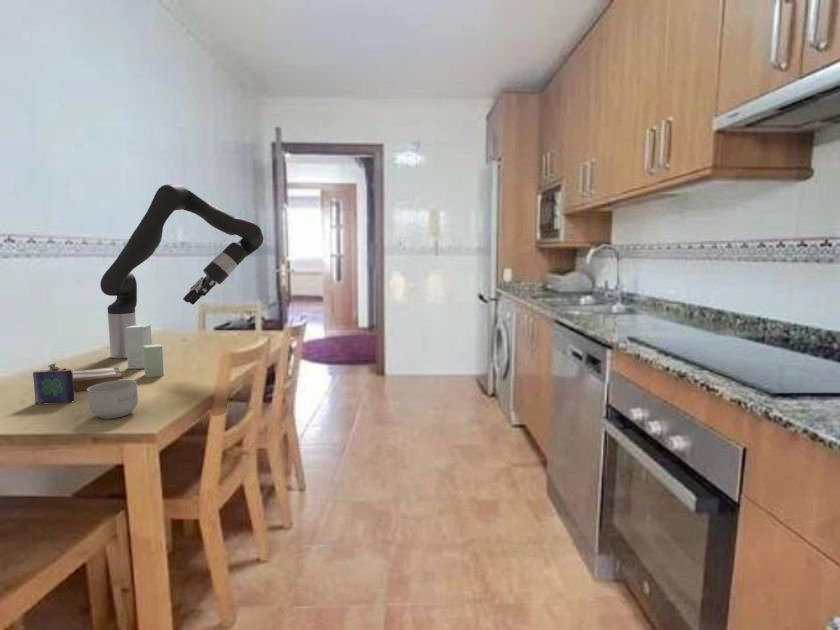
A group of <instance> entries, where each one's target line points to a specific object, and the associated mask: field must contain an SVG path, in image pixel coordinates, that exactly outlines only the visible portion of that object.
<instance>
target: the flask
mask: <svg viewBox="0 0 840 630" xmlns="http://www.w3.org/2000/svg"><path fill="white" fill-rule="evenodd" d="M56 365H57V363H55V362H54V363H51V364H50V365H49V364H48V365H47V366H48V368H49V369H47V370H46V369H42V370H41V369H40V370H35V371H33V372H32V376H33V386H34V390H33V391H34V402H35V403H34V404H37V403H43V404H44V403H54V404H65V403H66V404H69V403H68V402H70V403H73V402H72V401H74V402H75V392H73V381H72V370H71V368H68V369H67V368H66V367H63V368H62V367H58V366H56Z"/></svg>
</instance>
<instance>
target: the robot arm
mask: <svg viewBox="0 0 840 630" xmlns="http://www.w3.org/2000/svg"><path fill="white" fill-rule="evenodd" d="M181 210H183V211H187V212H189V213H191V214H195V215H196V216H198V217H200V218H202V219H203V220H204V221H205V222H206V223H208V225H210V226H211V227H213V228H215V229H217V230H218V231H221V232H222V233H225V234H226V235H229V236H238V237H240V238H241V239H239V240H238V241H237V242H235V241H234V242H231V243H230V244H229V245H228V246H226V247H225V248H224V249H223V251H221V252H220V253H219V254H217V255H216V256H215V257H214V259H212V260H211V262H209V263H208V264H207V265H206V267H204V268H203V270H202V271H203V272H204V274H205V275H206V276H205V277H202V276H201V277H200V278H199V279H198V280H197V281H196V282H195V283H194V284H193V285H192V286H191V287H190V288H189V292H187V293H186V295H185V296H184V297H183V298H182V299H183V301H184V302H186V303H187V304H191V305H195V304H196V303H197V302H198V301H199V300H200V299H201V298H202V297H204V296H206V295H207V294H208V293H210V291H211V290H212V289H213V288H214V287H215V286H216V285H221V284H223V283H224V281H225V280H226V279H227V278H228V277H229V276H230V275H231V274H232V273H233V272H235V269H236V268H237V267H238V266H239V265H240V264H241V262H243V261H244V259H246V258H247V257H248V256H250V255H252V254H253V253H255V252H256V251H257V250H258V249H259V248H260V247H261V246H262V245H263V242H264V235H263V232H262V230H261V227H260V226H259V225H258V224H256V223H255V222H253V221H251V220H247V219H244V218H239V217H237V216H235V215H233V214H231V213H230V212H227V211H225V210H223V209H221V208H219V207H217V206H215V205H213V204H211V203H209V202H208V201H206V200H204V199H203V198H202V197H200V196H198V195H197V194H196V193H194V192H192V191H191V190H190V189H188V188H187V187H186V186H184V185H182V184H178V183H177V184H176V183H175V184H174V183H173V184H172V183H169V184H164V185H161V186H160V187H159V188H158V189H157V190H156V192H155V194H154V197H152V201H151V202H150V205H149V207H148V209H147V210H146V212H145V214H144V216H143V217H142V218H141V220H140V221H139V224H138V225H137V227H136V228H135V229H134V231H133V233H132V235H130V237H129V239H128V241H127V243H126V244H125V246H124V247H123V248H122V250H121V251H120V253H119V255H118V256H117V258H116V259H115V260H114V261H113V262H112V264H111V265H110V266H109V268H108V269H107V270H106V271H105V273H104V274H103V275H102V277H101V279H100V283H99V284H100V290H101V292H102V293H103V294H104V295H106V296H111V297H116V299H115V301H113V302H112V303H111V304H109V305H108V307H107V320H108V336H109V337H108V338H109V351H110V352H109V354H110V358H111V359H127V347H126V333H125V328H126V327H129V326H134V325H137V321H136V307H137V304H138V303H137V302H138V286H137V285H138V283H137V280H136V277H135V275H134V274H133V273H132V271H133V270H134V269H135V268H137V267H138V266H140V265H141V264H142V263H144V262H145V261H147V260H148V259H149V258H150V257H151V256H153V254H154V252H156V249H157V248H158V246H159V245H160V244H161V241H162V238H163V230H164V226H165V223H166V222H167V220H168V219H169V218H170V217H171V215H172V214H173V213H174V212H175V211H181Z"/></svg>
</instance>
